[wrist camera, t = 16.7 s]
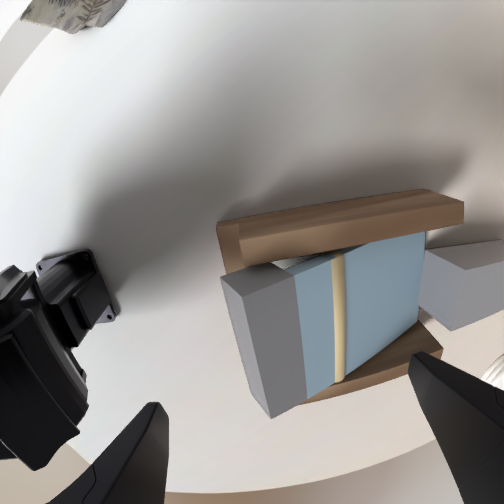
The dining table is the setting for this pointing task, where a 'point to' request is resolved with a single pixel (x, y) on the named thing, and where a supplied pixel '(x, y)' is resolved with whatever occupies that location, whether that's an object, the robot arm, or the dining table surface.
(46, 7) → the fossil rock
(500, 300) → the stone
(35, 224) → the dining table surface
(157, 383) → the dining table surface
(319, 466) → the dining table surface
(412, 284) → the trapdoor
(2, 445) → the robot arm
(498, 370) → the coaster
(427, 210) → the hatch frame
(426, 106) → the dining table surface
